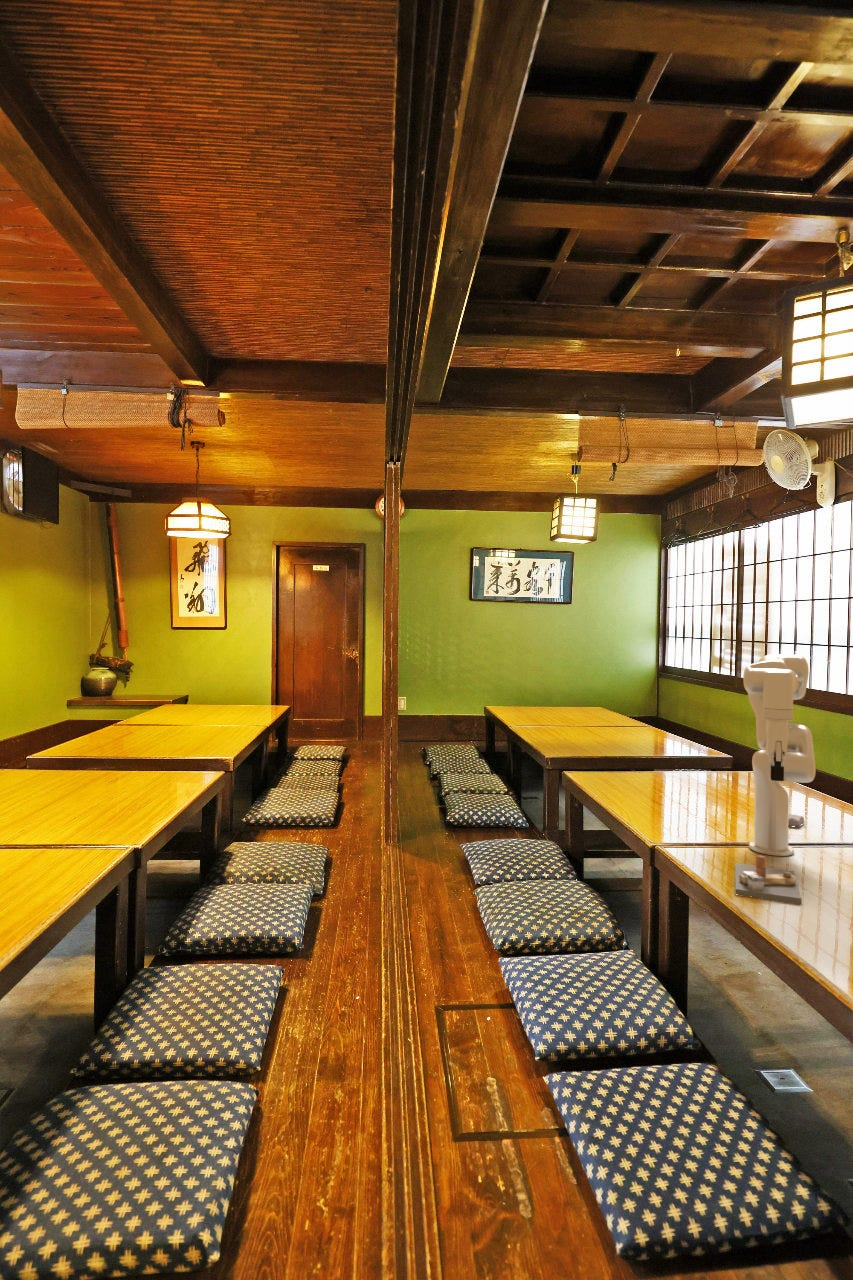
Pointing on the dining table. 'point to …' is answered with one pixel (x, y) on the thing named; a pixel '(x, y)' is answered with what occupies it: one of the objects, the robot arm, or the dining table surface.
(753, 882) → the block
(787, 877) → the ash link
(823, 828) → the dining table surface
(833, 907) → the dining table surface
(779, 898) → the base board
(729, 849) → the dining table surface
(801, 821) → the stone block
